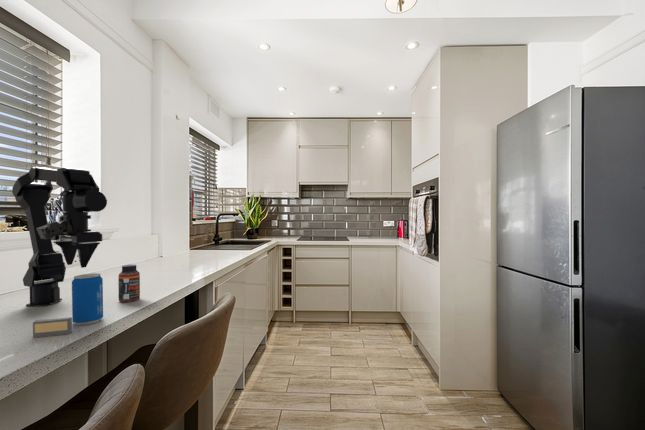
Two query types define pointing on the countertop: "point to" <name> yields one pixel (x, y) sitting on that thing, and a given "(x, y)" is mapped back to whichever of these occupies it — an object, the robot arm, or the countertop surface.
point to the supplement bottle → (129, 284)
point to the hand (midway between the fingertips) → (76, 266)
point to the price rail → (52, 327)
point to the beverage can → (87, 299)
